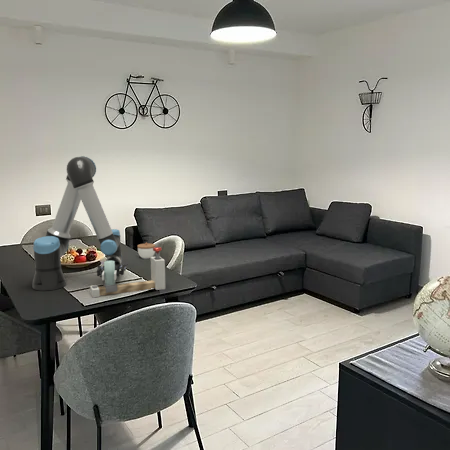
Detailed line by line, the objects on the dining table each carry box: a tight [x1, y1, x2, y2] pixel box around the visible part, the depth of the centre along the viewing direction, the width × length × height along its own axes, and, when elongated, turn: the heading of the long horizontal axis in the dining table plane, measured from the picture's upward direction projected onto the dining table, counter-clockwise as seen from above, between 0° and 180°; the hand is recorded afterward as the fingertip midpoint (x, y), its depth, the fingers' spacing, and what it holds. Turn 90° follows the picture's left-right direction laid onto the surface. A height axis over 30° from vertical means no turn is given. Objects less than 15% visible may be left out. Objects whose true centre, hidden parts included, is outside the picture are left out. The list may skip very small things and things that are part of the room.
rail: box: [98, 279, 155, 296], centre depth 214 cm, size 26×4×3 cm, turn 114°
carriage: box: [103, 260, 118, 293], centre depth 210 cm, size 5×6×13 cm
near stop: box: [89, 284, 100, 299], centre depth 208 cm, size 3×7×4 cm, turn 24°
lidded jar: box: [137, 241, 156, 260], centre depth 279 cm, size 11×11×9 cm
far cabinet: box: [150, 256, 166, 291], centre depth 219 cm, size 4×9×14 cm, turn 24°
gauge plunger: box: [153, 246, 162, 260], centre depth 218 cm, size 4×4×11 cm
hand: (108, 277), depth 205 cm, fingers closed on carriage, 5 cm apart
